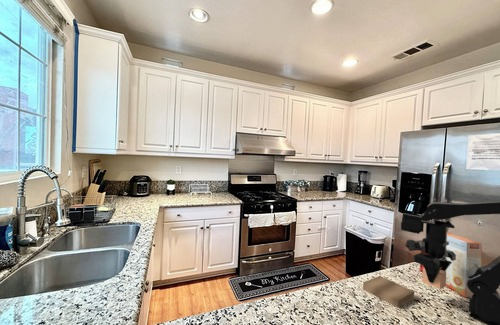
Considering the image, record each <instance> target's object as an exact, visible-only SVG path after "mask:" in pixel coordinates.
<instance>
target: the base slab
mask: <svg viewBox="0 0 500 325" xmlns="http://www.w3.org/2000/svg"><path fill="white" fill-rule="evenodd" d="M362 290H364V291H366V292H368V293H369V294H371V295H373V296H375V297H377V298H378V299H380V300H382V301H384V302H385V303H388V304H389V305H391V306H392V307H395V308H397V309H399V308H401V307H402V306H404V305H405V304H407V303H409V302H410V301H412V300H414V299H415V291H414V290H412V289H410V288H407V287H405V286H403V285H401V284H399V283H397V282H395V281H393V280H390V279H388V278H386V277H383V276H381V275H379V276H377V277H374V278H373V277H372V278H371V279H369V280H366V281H363V283H362ZM398 307H399V308H398Z"/></svg>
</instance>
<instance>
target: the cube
mask: <svg viewBox="0 0 500 325" xmlns="http://www.w3.org/2000/svg"><path fill="white" fill-rule="evenodd" d="M421 282H422V283H424V284H427V285H429V286H432V287H434V288H436V289H439V290H442V289H443V288H445V287H447V286H446V271H443V270H440V272H439V273H438V275H437V277H436V279H435V281H434V282H433V283H431V282H429V280H428V277H427V274H426V271H425V268H423V273H422V280H421Z"/></svg>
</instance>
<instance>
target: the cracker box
mask: <svg viewBox="0 0 500 325" xmlns="http://www.w3.org/2000/svg"><path fill="white" fill-rule="evenodd" d="M447 242H449V245H447V246H446V250H450V251H453V252H454V253H455V254H456V260H454V261H452V260H451V259H450V258H448V257H446V258H447V260H448V261H451V262H452V263H451V264H450V266H449V267H448V268H447V270H446V286H445V287H447V288H449V289H450V290H452V291H453V292H456V293H457V294H458V295H461V296H463V298H469V299H471V298H472V295H473V294H474V293H472V292H471V291H470V290H469V288H468V287H467V283H466V279H465V275H466V270H469V269H471V268H472V267H473V265H474V264H477V265H478V266H479V267H482V246H483V244H482V243H481V242H478V241H476V240H473V239H470V238H466V237H463V236H460V235H457V234H454V233H451V232H448V231H447Z"/></svg>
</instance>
